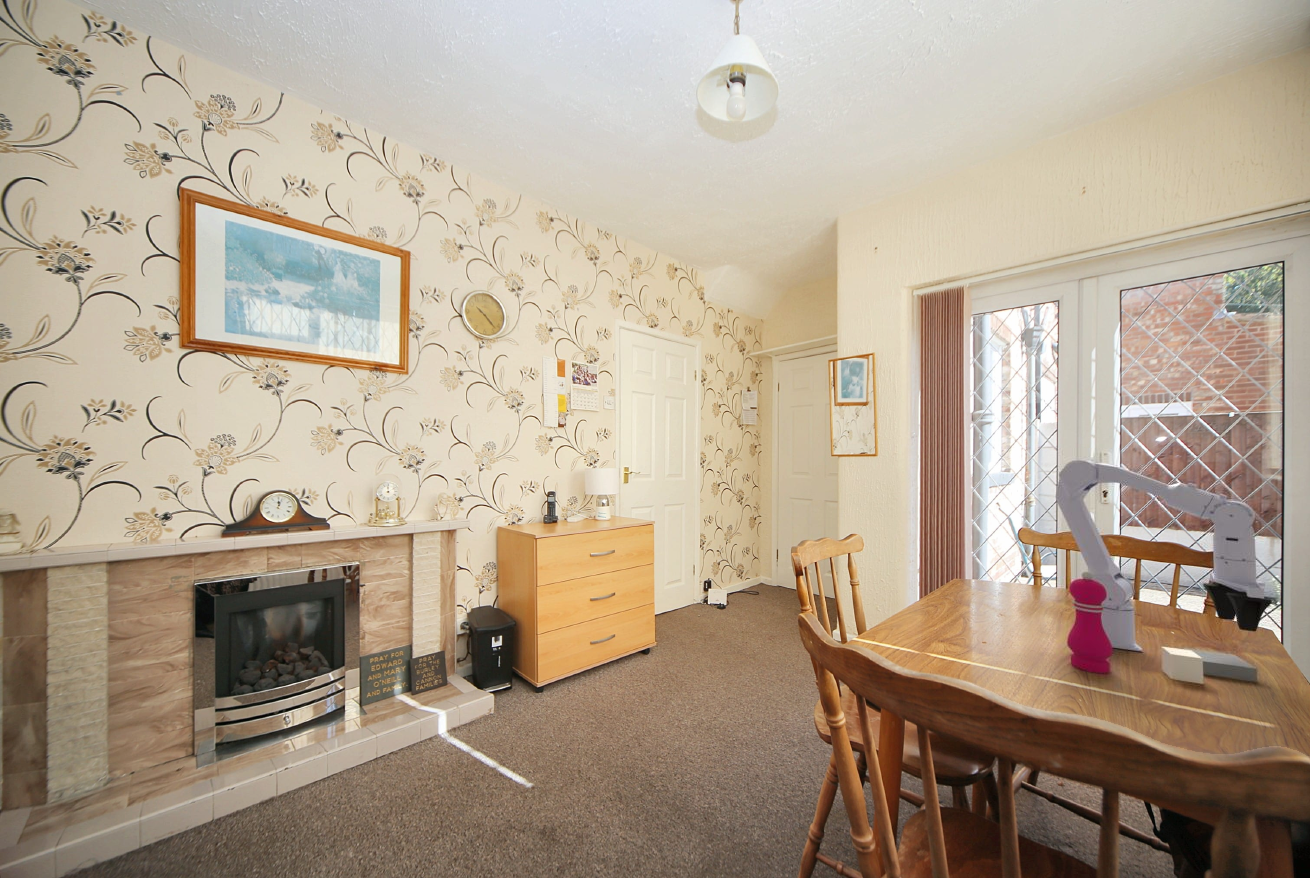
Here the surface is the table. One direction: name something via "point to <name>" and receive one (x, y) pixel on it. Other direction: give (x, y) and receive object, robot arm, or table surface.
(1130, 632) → the robot arm
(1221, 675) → the gray base block
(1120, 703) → the table surface
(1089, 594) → the pepper mill
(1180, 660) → the cream block
